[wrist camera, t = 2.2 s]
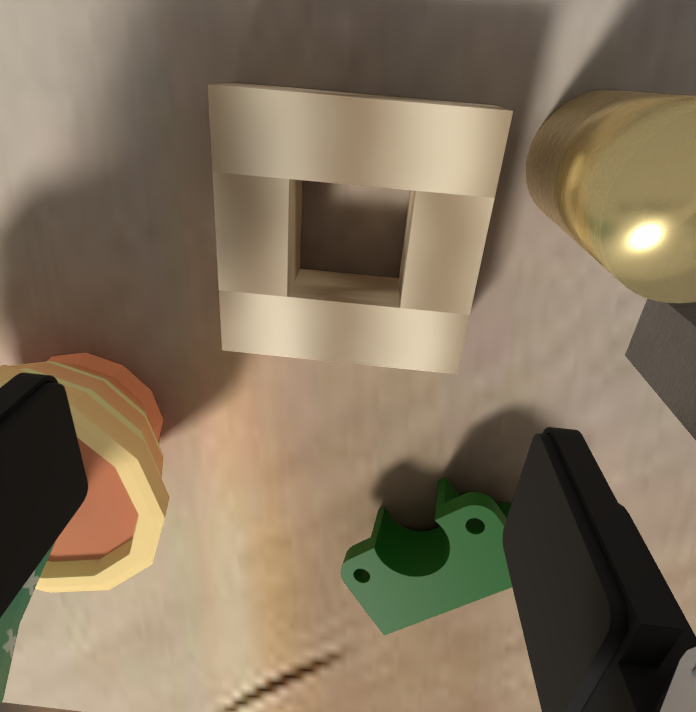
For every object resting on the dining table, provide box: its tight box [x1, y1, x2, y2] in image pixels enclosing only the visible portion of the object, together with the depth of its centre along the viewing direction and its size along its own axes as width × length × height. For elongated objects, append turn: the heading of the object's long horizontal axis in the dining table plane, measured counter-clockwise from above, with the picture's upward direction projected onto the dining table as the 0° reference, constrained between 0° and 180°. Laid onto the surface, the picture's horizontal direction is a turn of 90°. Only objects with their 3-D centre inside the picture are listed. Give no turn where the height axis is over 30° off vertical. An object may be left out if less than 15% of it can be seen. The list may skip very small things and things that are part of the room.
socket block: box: [207, 83, 513, 374], centre depth 24 cm, size 12×12×4 cm
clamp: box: [341, 477, 512, 635], centre depth 34 cm, size 12×6×9 cm, turn 121°
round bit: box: [526, 90, 696, 303], centre depth 20 cm, size 6×6×10 cm
